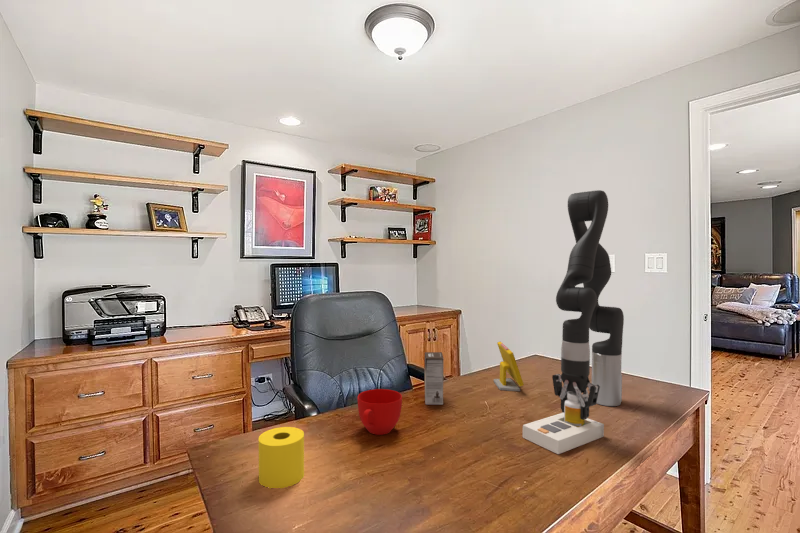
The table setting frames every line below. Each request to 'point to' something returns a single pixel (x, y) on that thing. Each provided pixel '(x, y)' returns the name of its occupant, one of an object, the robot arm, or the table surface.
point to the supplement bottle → (573, 410)
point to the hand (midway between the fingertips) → (574, 415)
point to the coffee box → (434, 378)
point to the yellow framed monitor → (508, 370)
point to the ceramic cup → (379, 410)
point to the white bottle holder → (561, 433)
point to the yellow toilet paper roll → (281, 457)
